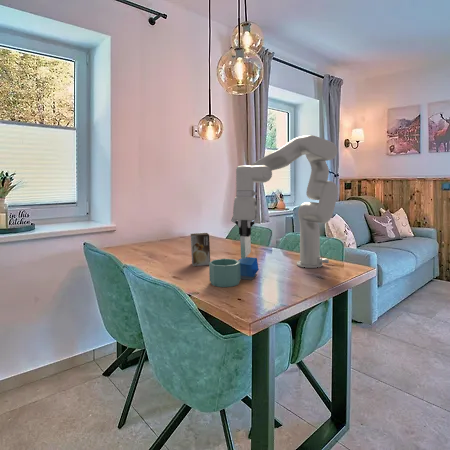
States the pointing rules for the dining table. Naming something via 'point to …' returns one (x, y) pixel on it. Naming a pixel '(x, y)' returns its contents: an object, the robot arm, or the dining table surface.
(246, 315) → the dining table surface
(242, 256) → the brushed metal bar
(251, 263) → the perfume bottle
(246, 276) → the rubber mat
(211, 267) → the utensil pot
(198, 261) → the coffee box
